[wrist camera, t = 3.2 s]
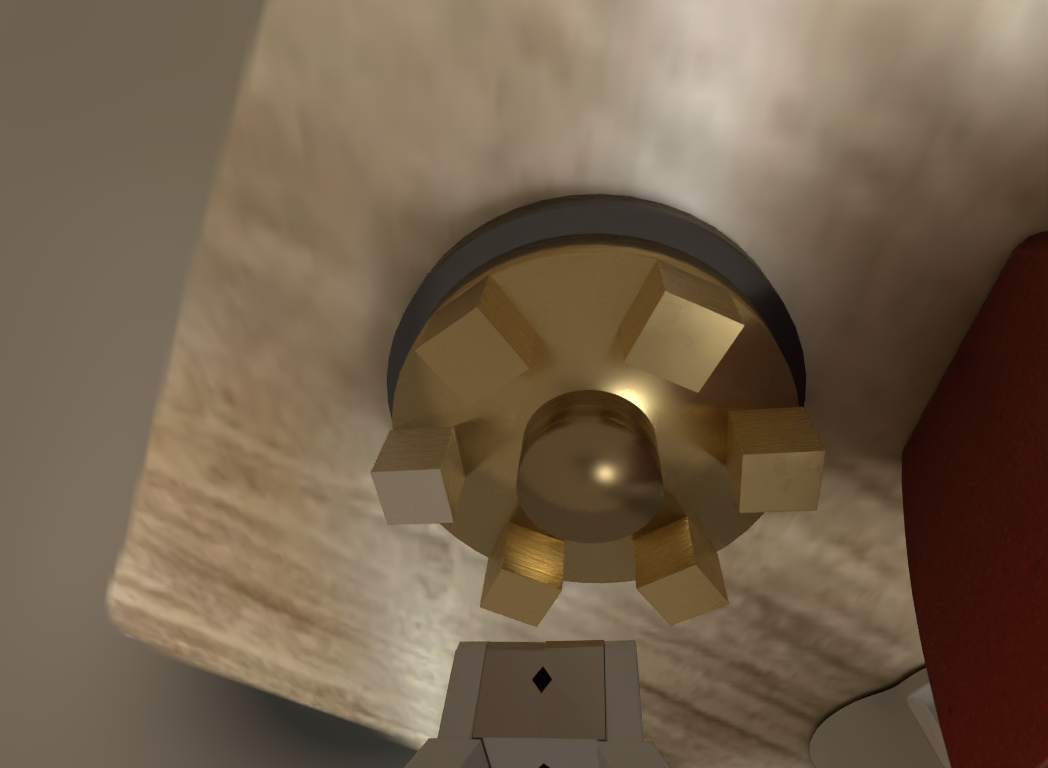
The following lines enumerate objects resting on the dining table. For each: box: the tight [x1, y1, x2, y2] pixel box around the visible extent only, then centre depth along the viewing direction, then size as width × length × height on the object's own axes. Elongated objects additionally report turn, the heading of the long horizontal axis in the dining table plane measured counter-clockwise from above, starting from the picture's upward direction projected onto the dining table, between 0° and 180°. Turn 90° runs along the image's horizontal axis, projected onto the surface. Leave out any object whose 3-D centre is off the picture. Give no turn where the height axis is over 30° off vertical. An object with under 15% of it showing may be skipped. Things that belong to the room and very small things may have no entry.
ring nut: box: [371, 233, 826, 627], centre depth 28 cm, size 18×18×6 cm
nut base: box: [387, 194, 806, 422], centre depth 31 cm, size 20×20×2 cm
